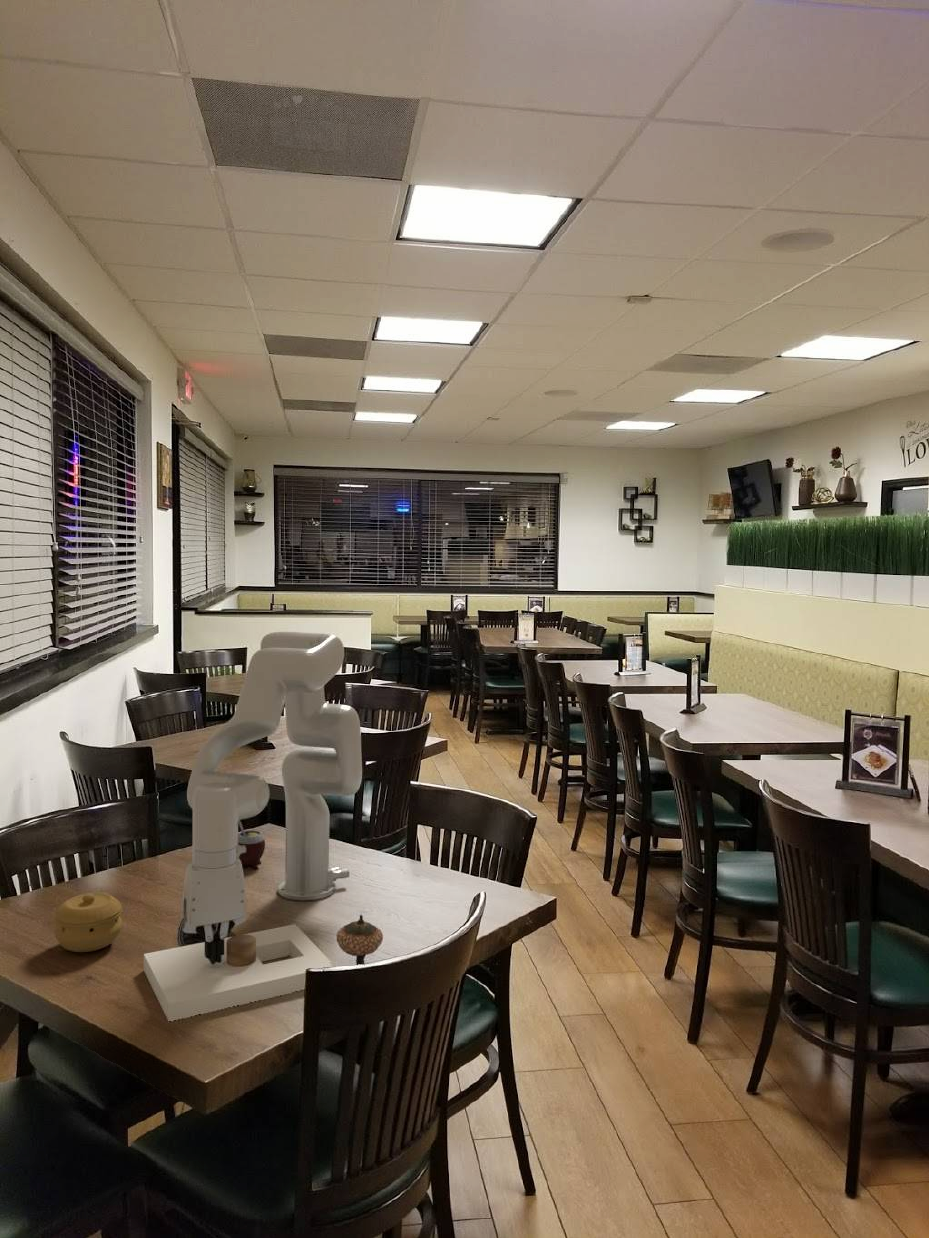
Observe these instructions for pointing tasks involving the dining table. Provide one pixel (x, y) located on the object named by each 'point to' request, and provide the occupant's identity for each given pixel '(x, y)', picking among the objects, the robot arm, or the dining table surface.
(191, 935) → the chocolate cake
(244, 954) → the brown wooden cylinder
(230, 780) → the robot arm
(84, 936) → the pot
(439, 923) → the dining table surface
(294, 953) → the plate
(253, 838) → the mate gourd
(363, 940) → the acorn
